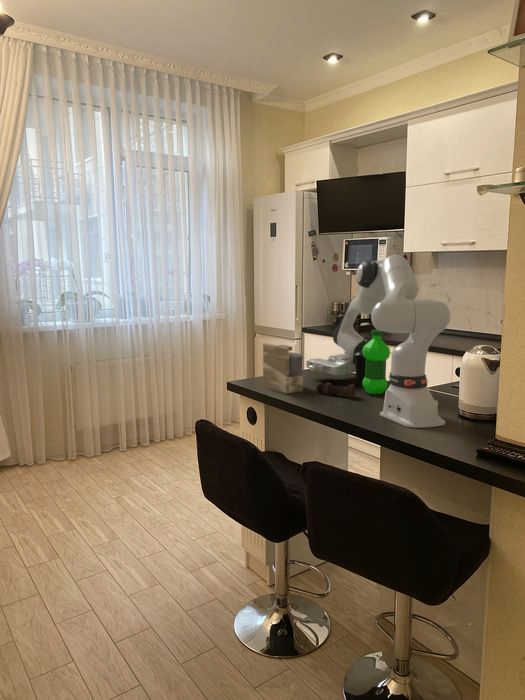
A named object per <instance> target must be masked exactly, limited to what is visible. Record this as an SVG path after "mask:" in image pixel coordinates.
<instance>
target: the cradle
mask: <svg viewBox="0 0 525 700" xmlns="http://www.w3.org/2000/svg"><path fill="white" fill-rule="evenodd" d="M290 351H293V346H291V345H287V344H280V345H279V344H277V345H276V344H272V343H268V342H263V343H262V371H263V372H262V386H263V387H265V388H267V389H271V390H273V391H276V392H279V393H281V394H285V395H289V394H291V393H298V392H303V391H304V386H303V385H304V376H303V375H302V376H294V377H289V353H290Z"/></svg>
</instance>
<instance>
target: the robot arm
mask: <svg viewBox="0 0 525 700" xmlns="http://www.w3.org/2000/svg"><path fill="white" fill-rule="evenodd" d="M355 275H356V282H357V284H358V285H359V290H358V291H357V292H358V293H357V295H355V296H353V297H352V298H351V299H350V300H349V302H348V304H347V305H346V307H345V310H344V312H343V315H342V317H341V319H340V321H339V324H338V325H337V327H336V328H335V329H334V332H333V335H332V339H333V342H334V344H336V345H337V346H338V347H339V348H341V349H342V350H343V351H344V353H340V354H332V355H330V356H328V358H327V359H324V358H309V359H307V360H305V361H306V362H305V363H306V366H305V367H306V368H307V369H308V370H310V371H313V372H316V371H317V372H323V373H326V374H329V375H332V376H346V377H347V376H350V374H352V373H356V370H355V356H354V353H357V352H359V351H363V339H365V337H363V336H362V335H361V334H359V332H357V331H356V330H355V328H354V323H355V321H356V319H357V317H358V315H359V314H363V315H370V318H371V319H370V320H371V323H372V326H373V327H374V328H375V330H379V331H383V332H385V333H390V334H409V336H408V338H407V339H406V340H405V341H404V342H402V343H400V344H398V345H396V346H395V347H394V348H393V350H392V352H391V362H390V363H391V366H390V372H389V376H388V384H389V385H388V387H387V389H386V390H385V391H384V393H385V394H384V400H383V401H384V402H383V410H381V411H379V416H381V417H383V418H385V419H388V420H390V421H392V422H395V423H397V424H399V425H402V426H404V427H405V428H414V429H415V428H419V429H421V428H435V427H440V426H445V425H446V421H445V420H444V419H443V418H442V417H441V416H440V415H439V409H438V407H439V401H438V400H437V399H436V400H435V399H434V397H433V395H432V393H431V392H430V390H429V388H428V381H429V380H428V379H427V374H426V363H427V362H426V361H427V355H428V351H429V348H430V345H431V344H432V342H433V340H435V338H436V337H438V335H439V334H440V333H442V332H443V331H444V330H445V329H446V328H447V327H448V326H449V324H450V322H451V321H450V320H451V311H450V308H449V306H448V305H447V304H446V303H445V302H443V301H439V300H433V299H416V298H417V297H418V295H419V285H418V281H417V280H416V275H415V271H414V269H413V268H412V266H411V265H410V263H409V262H408V260H407V259H406V258H405V257H404V256H403V255H400V254H391V255H389V256H387V257H386V258H385V259H384V260H371V259H370V260H363V261H362V262H361V263H359V264H358V267H357V269H356V274H355ZM368 342H369V341H368V340H367V339H365V345H366V344H367V343H368Z"/></svg>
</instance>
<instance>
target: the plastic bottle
mask: <svg viewBox="0 0 525 700" xmlns="http://www.w3.org/2000/svg"><path fill="white" fill-rule="evenodd" d="M383 334H384V333H383V331H379V330H377V329H372V330H371V336H372V339H370V340H369V341H368V343H367V344H366V345H365V346H364V347H363V356H364V357H365V358H366V368H365V378H364V379H363V387H364V388H363V389H364V390H365V391H366V392H367V394H368V393H369V394H368V395H371V394H375V395H374V396H377V395H376V394H380V395H382V394H383V393H385V392H386V390H387V389H388V388H389V382H388V381H387V378H386V376H387V375H386V374H387V360H388V359H389V358H390V354H391V349H390V346H388V344H386V343H385V342H384V341H383V340H382V336H383Z"/></svg>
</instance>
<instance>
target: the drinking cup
mask: <svg viewBox="0 0 525 700" xmlns="http://www.w3.org/2000/svg"><path fill="white" fill-rule="evenodd" d="M365 340H366V338H364V339H363V347H364V346H365ZM354 356H355V370H356V372H355V381H356V382H355V384H356V386H355V387H357V388H361V387H363V379H364V378H365V368H366V358H365V357H364V356H363V351H359V352H357V353H354Z"/></svg>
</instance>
